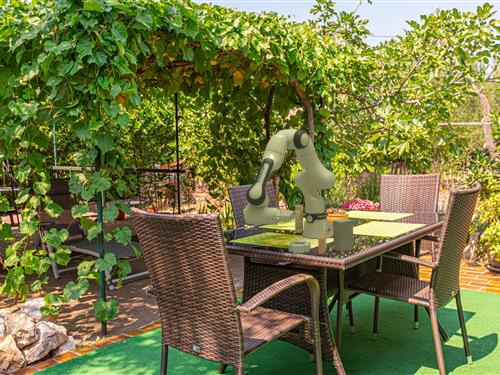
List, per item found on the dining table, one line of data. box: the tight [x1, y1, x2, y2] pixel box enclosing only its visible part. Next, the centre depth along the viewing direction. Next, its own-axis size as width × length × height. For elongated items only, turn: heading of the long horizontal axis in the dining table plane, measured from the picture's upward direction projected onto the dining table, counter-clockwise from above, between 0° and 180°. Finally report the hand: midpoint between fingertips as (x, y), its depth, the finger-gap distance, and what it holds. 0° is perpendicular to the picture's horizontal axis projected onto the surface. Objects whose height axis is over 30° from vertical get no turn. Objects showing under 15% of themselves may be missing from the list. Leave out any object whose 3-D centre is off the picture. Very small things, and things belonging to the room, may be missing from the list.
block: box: [288, 240, 311, 254], centre depth 260 cm, size 10×14×4 cm
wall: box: [317, 232, 327, 255], centre depth 257 cm, size 3×18×8 cm, turn 169°
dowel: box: [294, 204, 304, 234], centre depth 260 cm, size 4×4×14 cm
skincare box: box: [332, 218, 354, 253], centre depth 257 cm, size 8×7×16 cm
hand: (300, 216), depth 260 cm, fingers closed on dowel, 4 cm apart
